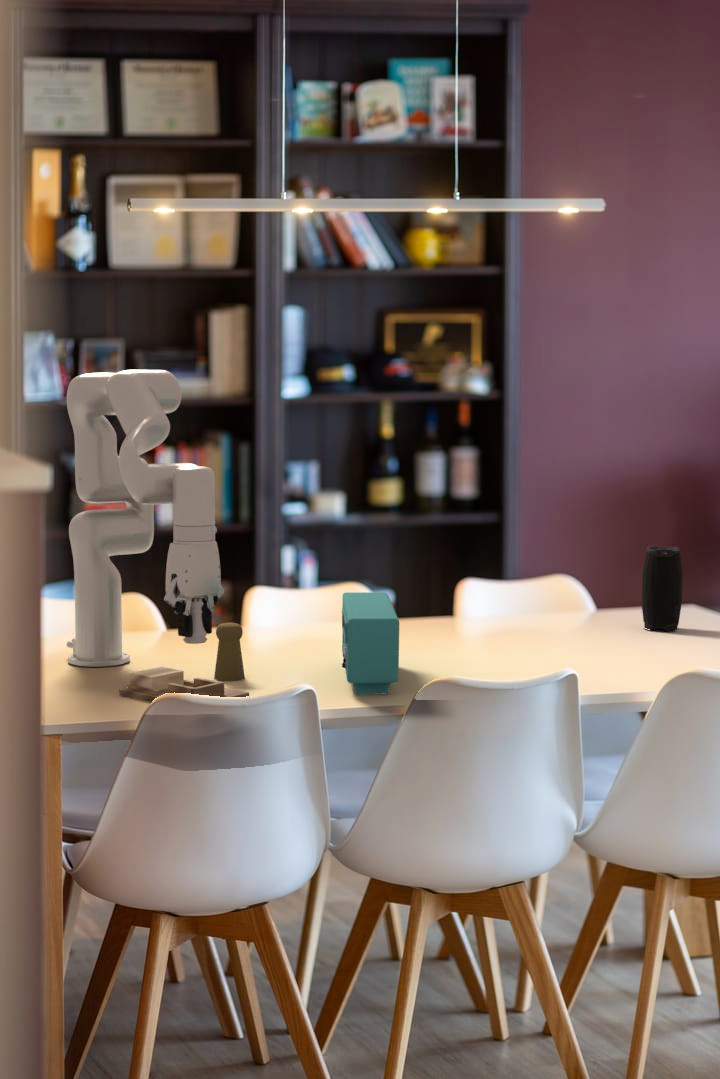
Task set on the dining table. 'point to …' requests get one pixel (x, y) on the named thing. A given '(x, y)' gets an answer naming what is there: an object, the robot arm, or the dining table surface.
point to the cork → (229, 653)
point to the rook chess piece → (196, 623)
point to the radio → (370, 642)
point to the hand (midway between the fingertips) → (194, 633)
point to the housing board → (182, 690)
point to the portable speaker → (662, 588)
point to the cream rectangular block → (157, 678)
